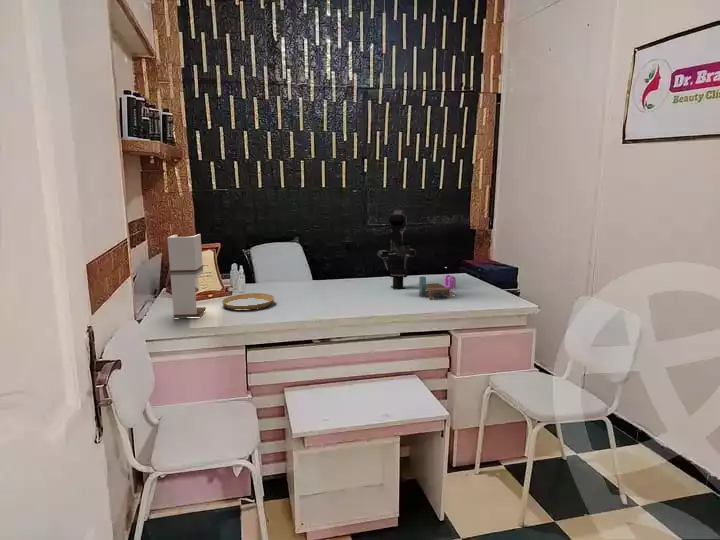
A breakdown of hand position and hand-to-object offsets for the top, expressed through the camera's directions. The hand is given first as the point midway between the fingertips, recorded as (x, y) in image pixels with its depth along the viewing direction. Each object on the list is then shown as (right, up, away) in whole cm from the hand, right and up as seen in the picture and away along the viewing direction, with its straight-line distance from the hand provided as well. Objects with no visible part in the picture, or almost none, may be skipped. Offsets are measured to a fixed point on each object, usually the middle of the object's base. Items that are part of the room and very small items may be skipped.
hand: (396, 269), depth 244 cm
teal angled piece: (+18, -13, -1) cm, 22 cm away
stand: (+19, -13, -1) cm, 23 cm away
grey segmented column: (-93, -20, -32) cm, 100 cm away
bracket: (+26, -10, +16) cm, 32 cm away
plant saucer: (-71, -17, -15) cm, 75 cm away
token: (+27, -13, +2) cm, 30 cm away
